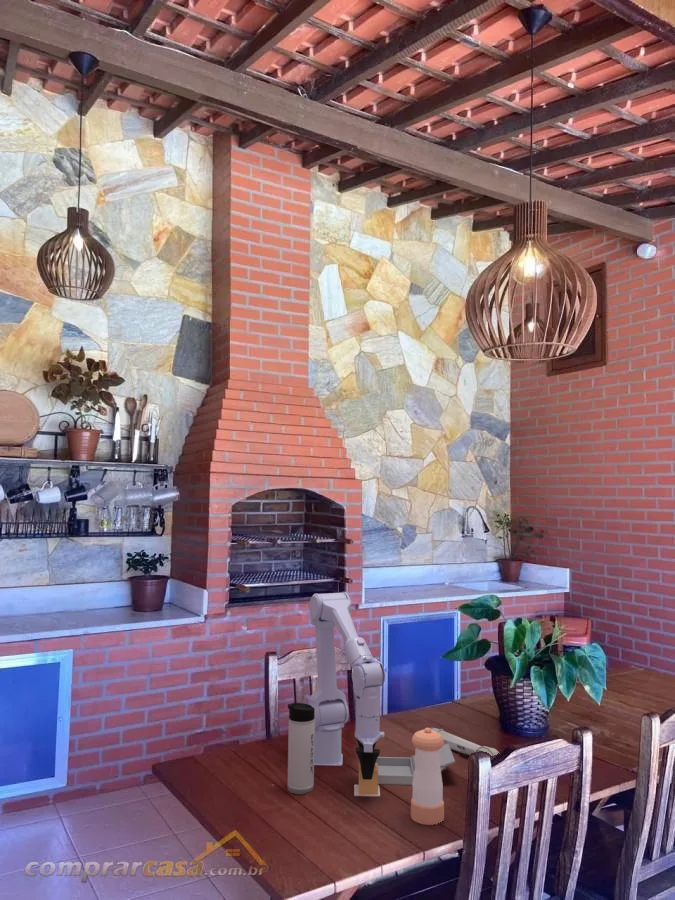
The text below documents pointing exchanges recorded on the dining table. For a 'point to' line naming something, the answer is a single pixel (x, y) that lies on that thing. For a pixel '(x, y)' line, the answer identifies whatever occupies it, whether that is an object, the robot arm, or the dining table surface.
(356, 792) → the mat
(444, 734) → the white elongated piece
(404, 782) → the case
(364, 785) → the block
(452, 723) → the dining table surface
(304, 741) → the travel mug
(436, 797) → the pepper shaker
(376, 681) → the robot arm
